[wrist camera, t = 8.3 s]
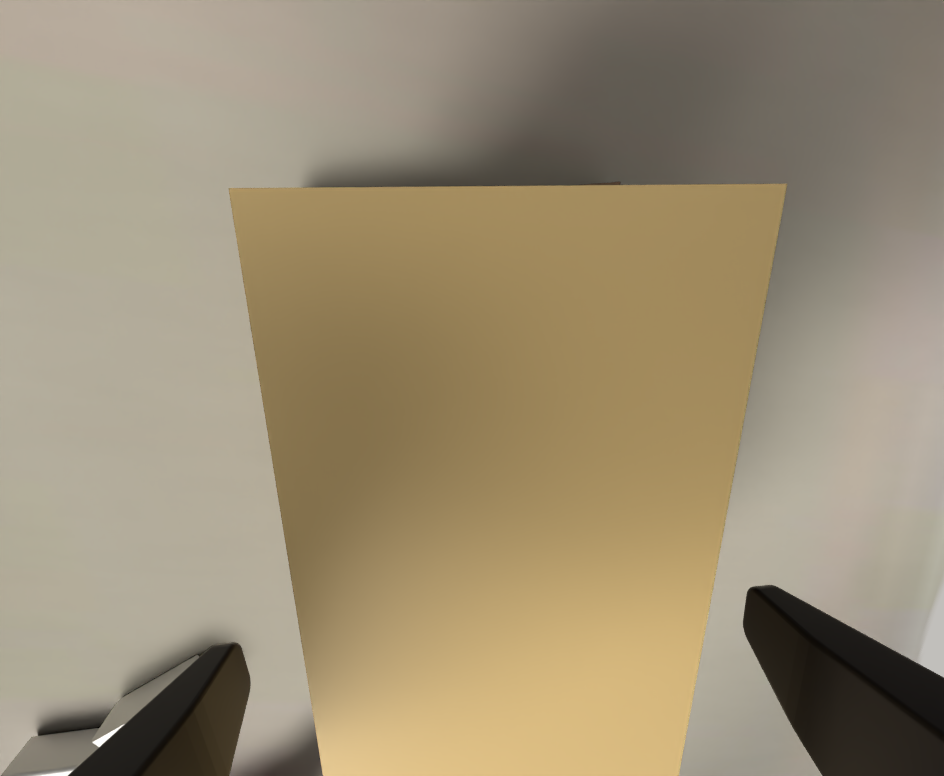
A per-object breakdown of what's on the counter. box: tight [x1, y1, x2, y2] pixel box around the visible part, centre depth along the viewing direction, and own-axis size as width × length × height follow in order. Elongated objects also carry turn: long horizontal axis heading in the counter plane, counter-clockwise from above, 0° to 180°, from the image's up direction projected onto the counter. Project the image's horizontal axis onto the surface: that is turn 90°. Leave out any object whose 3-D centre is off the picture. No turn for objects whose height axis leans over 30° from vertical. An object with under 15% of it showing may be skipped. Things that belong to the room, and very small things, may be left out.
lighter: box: [1, 655, 199, 776], centre depth 19 cm, size 7×2×8 cm
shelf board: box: [229, 184, 787, 776], centre depth 9 cm, size 14×6×3 cm, turn 1°
